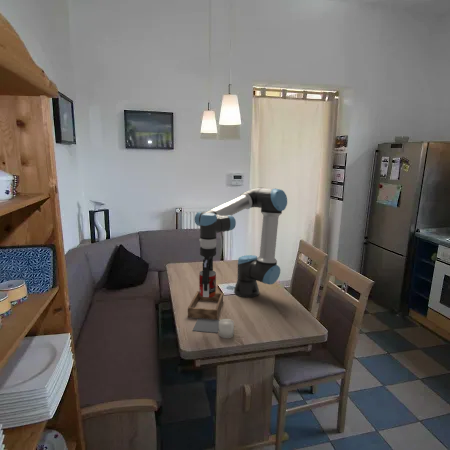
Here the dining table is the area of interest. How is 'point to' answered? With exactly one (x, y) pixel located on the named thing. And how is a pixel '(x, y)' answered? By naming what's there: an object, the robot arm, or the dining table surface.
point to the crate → (204, 312)
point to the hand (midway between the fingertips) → (207, 293)
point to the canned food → (211, 283)
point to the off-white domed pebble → (226, 328)
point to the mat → (207, 325)
